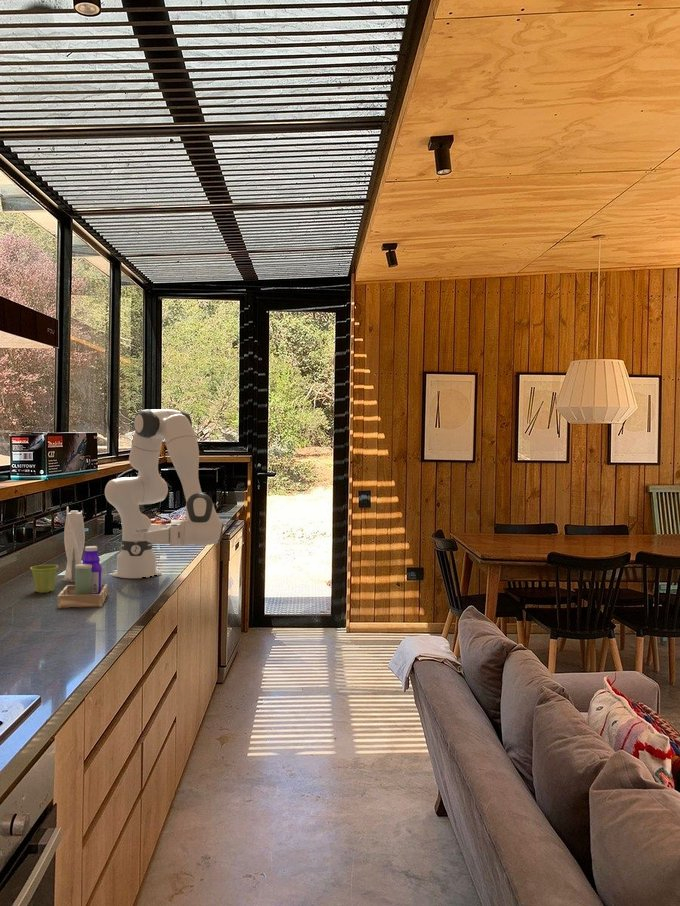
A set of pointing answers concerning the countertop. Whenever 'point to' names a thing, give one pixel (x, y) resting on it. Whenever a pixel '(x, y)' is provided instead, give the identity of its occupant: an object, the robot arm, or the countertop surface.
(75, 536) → the skyscraper
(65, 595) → the crate
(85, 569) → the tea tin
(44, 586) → the plant pot
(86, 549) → the bottle
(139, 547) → the robot arm
